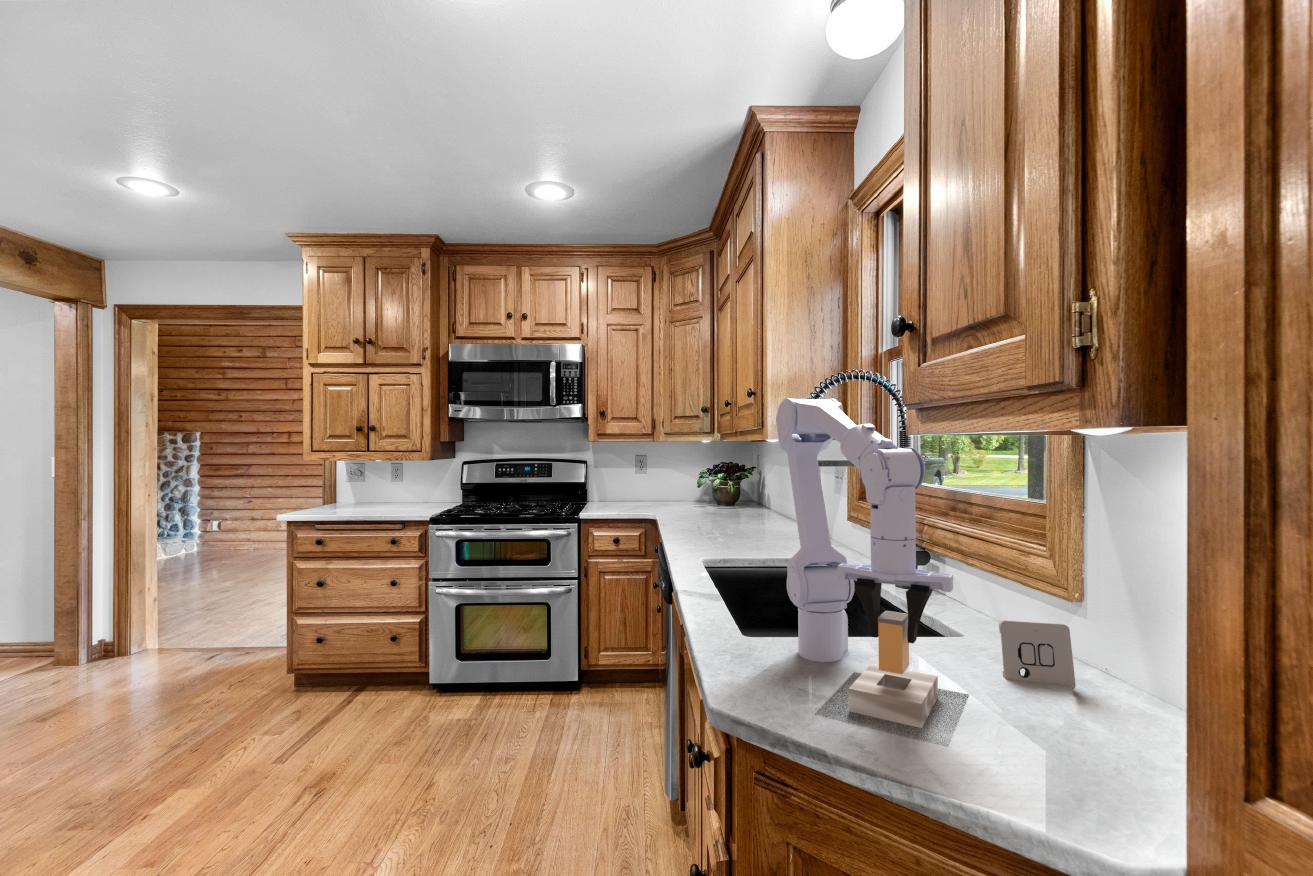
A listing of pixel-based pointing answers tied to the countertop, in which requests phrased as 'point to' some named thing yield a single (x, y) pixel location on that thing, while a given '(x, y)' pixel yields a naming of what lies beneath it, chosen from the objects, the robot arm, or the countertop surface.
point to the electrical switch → (1037, 652)
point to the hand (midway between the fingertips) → (893, 638)
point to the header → (896, 700)
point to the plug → (893, 642)
